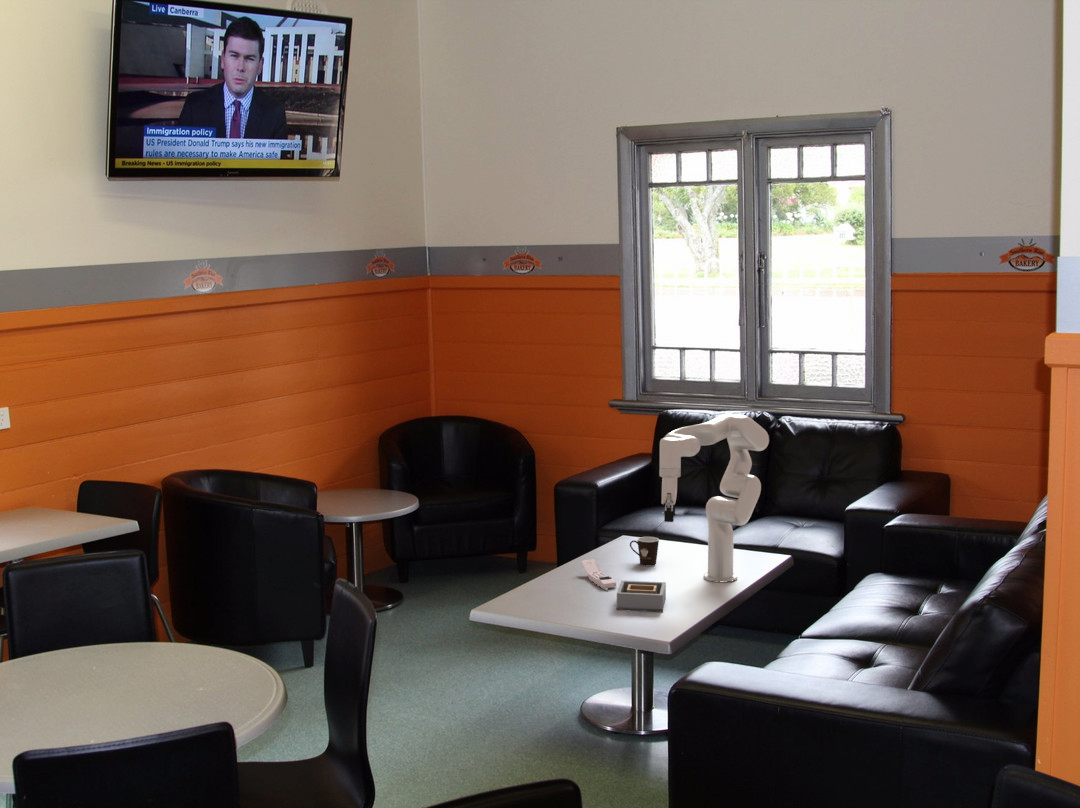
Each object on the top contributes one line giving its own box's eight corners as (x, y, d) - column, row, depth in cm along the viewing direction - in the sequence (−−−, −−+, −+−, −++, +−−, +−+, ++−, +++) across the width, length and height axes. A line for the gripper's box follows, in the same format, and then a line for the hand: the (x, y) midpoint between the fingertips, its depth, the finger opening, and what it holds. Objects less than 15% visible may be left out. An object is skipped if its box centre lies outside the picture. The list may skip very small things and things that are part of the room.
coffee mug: (663, 564, 458) (663, 540, 457) (646, 567, 453) (646, 543, 452) (644, 558, 468) (644, 534, 466) (628, 561, 463) (628, 537, 462)
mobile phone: (594, 558, 447) (619, 574, 423) (595, 573, 447) (619, 590, 424) (580, 560, 445) (604, 576, 421) (580, 574, 445) (604, 592, 422)
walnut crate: (628, 597, 410) (628, 584, 410) (656, 599, 409) (656, 585, 408) (626, 603, 404) (626, 589, 403) (655, 604, 402) (655, 591, 401)
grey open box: (621, 596, 415) (621, 580, 415) (665, 598, 413) (665, 582, 412) (616, 609, 400) (616, 593, 399) (662, 612, 397) (662, 595, 396)
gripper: (661, 467, 421) (660, 513, 423) (657, 476, 404) (657, 523, 406) (681, 467, 419) (681, 513, 422) (679, 476, 402) (678, 524, 405)
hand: (669, 518), depth 414 cm, fingers open, 9 cm apart
